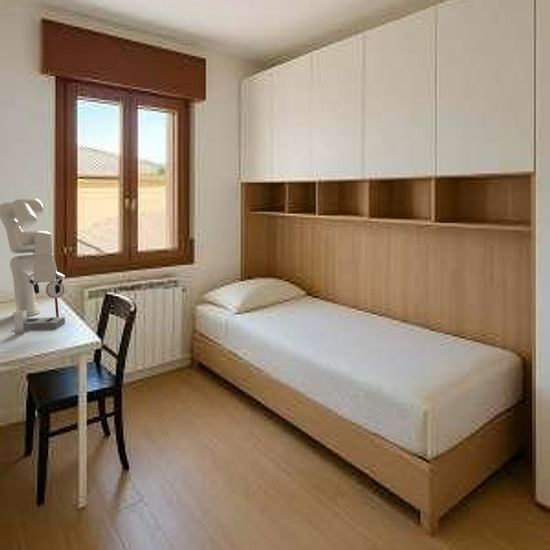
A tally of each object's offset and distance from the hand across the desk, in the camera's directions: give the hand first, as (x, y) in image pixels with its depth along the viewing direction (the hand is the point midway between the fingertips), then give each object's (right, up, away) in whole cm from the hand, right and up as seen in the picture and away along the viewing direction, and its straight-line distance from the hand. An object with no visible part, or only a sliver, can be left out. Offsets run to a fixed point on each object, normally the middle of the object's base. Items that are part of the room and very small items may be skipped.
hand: (47, 293), depth 234 cm
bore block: (-4, -16, +2) cm, 17 cm away
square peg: (-8, -18, -9) cm, 21 cm away
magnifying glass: (-2, -14, +15) cm, 21 cm away
